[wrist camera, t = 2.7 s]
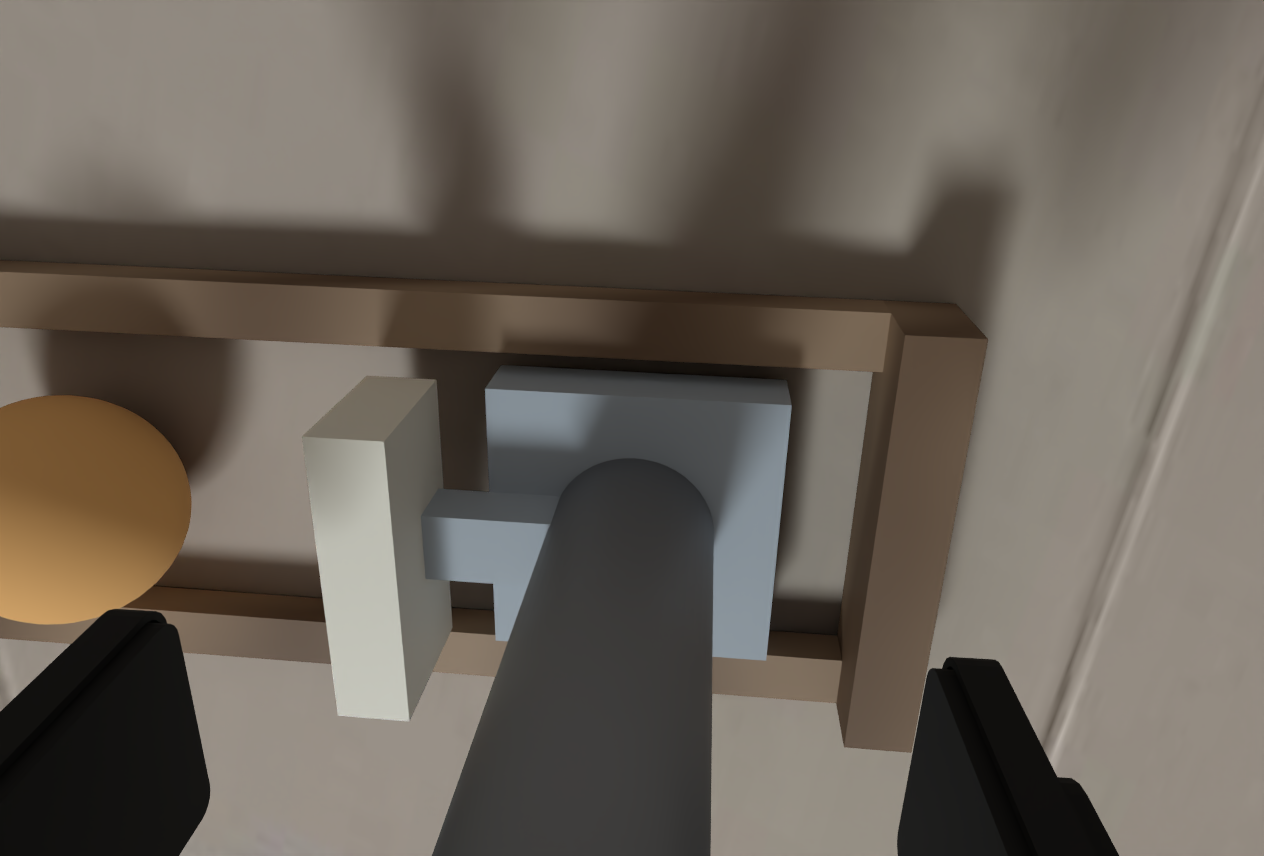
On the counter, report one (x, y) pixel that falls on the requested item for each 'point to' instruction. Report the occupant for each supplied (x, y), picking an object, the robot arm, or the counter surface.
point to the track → (603, 328)
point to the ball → (84, 508)
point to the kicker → (559, 588)
